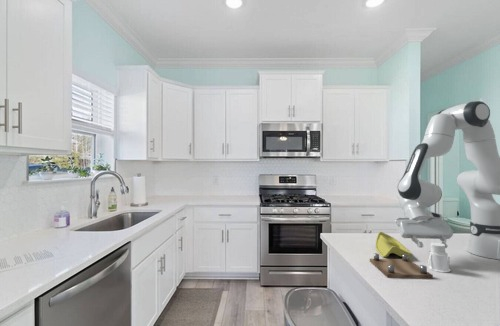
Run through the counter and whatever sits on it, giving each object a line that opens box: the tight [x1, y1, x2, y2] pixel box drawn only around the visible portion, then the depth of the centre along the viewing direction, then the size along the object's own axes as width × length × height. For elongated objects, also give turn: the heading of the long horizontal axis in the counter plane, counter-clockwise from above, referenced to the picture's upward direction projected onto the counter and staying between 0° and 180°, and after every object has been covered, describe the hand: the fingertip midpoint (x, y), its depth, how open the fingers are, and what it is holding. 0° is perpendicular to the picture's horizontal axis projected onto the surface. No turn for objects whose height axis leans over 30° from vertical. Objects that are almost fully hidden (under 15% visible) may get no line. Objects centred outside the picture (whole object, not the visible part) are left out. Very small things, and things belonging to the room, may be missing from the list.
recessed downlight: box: [427, 242, 451, 273], centre depth 101 cm, size 8×7×10 cm
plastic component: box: [375, 231, 412, 260], centre depth 121 cm, size 20×7×10 cm
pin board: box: [369, 252, 434, 279], centre depth 101 cm, size 16×16×4 cm
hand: (433, 247), depth 104 cm, fingers open, 8 cm apart
